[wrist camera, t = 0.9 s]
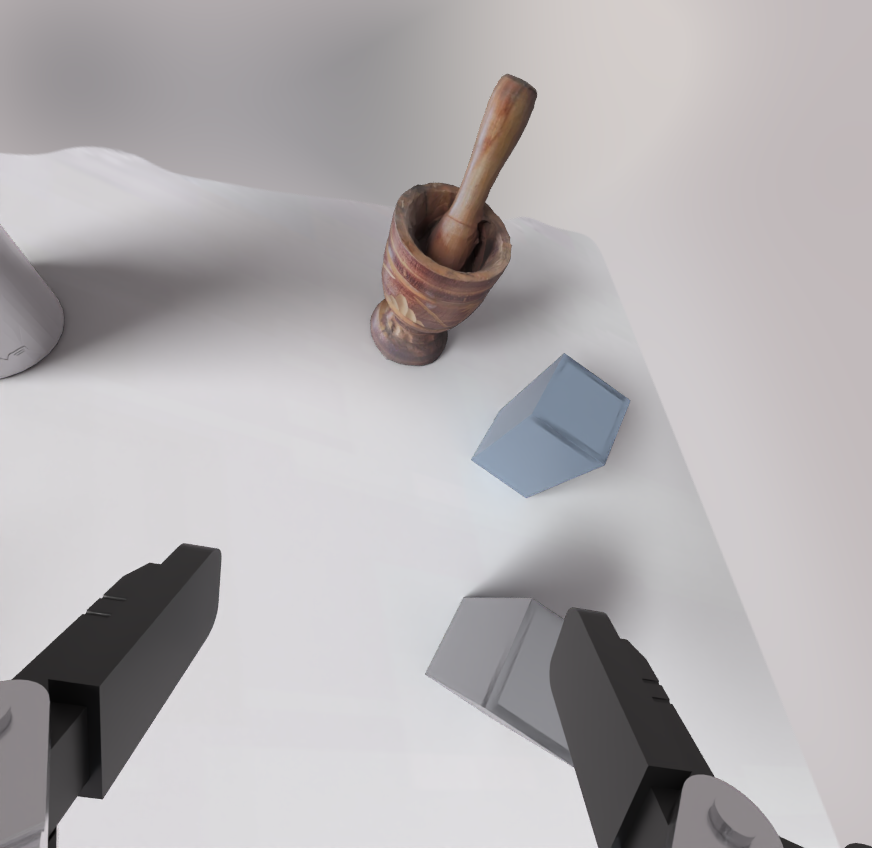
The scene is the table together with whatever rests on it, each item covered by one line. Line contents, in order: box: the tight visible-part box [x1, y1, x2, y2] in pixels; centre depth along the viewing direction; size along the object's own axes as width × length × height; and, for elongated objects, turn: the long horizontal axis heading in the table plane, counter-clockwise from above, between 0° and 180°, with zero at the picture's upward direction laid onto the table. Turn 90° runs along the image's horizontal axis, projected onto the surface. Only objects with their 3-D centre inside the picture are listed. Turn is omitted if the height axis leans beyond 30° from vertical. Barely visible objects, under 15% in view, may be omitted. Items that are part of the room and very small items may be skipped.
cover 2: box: [425, 598, 574, 767], centre depth 29 cm, size 6×6×11 cm
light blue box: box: [471, 353, 630, 498], centre depth 36 cm, size 6×6×11 cm
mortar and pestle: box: [371, 74, 537, 365], centre depth 34 cm, size 12×9×20 cm
